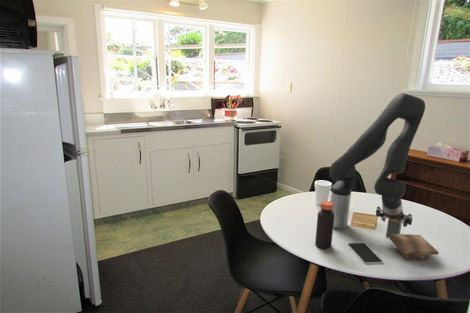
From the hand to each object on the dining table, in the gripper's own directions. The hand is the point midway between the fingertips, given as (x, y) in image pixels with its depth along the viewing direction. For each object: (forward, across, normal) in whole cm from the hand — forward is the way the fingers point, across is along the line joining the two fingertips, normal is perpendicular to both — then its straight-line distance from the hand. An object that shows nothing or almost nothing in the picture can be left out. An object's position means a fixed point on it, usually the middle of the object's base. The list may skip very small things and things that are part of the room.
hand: (394, 222), depth 141 cm
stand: (-1, -9, +12) cm, 15 cm away
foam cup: (+18, +42, -7) cm, 46 cm away
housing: (+7, 0, +4) cm, 8 cm away
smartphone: (-10, +6, +22) cm, 24 cm away
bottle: (-13, +22, +25) cm, 36 cm away
